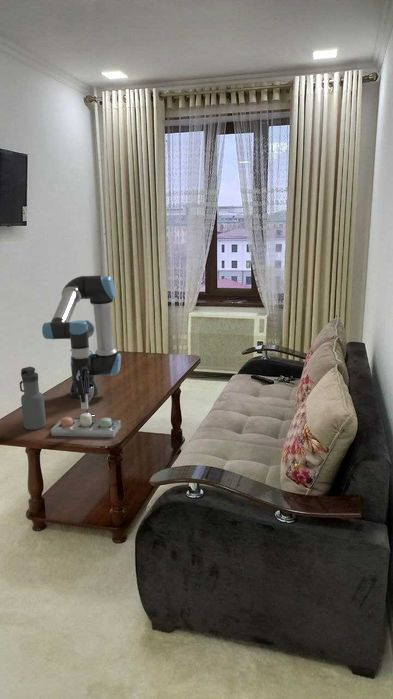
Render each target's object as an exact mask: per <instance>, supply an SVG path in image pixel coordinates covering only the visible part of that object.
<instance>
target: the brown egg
mask: <svg viewBox="0 0 393 699" xmlns="http://www.w3.org/2000/svg"><path fill="white" fill-rule="evenodd" d="M72 419H73V417H71V416H65V417H62V418H60V420H61V427H72V425H73V422H72Z"/></svg>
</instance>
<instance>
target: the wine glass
mask: <svg viewBox="0 0 393 699" xmlns="http://www.w3.org/2000/svg"><path fill="white" fill-rule="evenodd" d="M88 392H89V393H87V396H88V404H89V403H90V401H91V400H92V398H93V397H94V396H93V394H94V385H93V384H91V383H89V391H88ZM77 393H78V391H77ZM78 396H79V398H78V399H80V400H81V398H80V395H78ZM85 411H86V412H83V413H82V414H84V413H90V414H91V417H94V416H95V415H96V414H95V412H90V411H89V408H88V409H85Z"/></svg>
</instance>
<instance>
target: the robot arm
mask: <svg viewBox="0 0 393 699" xmlns="http://www.w3.org/2000/svg"><path fill="white" fill-rule="evenodd" d="M116 296H117V295H116V286H115V282H114V279H113V278H112V277H111V276H110V275H103V274H102V275H100V274H99V275H81V276H77V277H74V278H73V279H71V280H70V281H68V283H66V285H65V286H64V287H63V289H62V291H61V298H60V301H59V303H58V305H57V307H56V310H55V313H54V314H53V317H52V320H50V321H48V322H44V323H43V324H42V330H41V331H42V337H43V338H44V339H45V340H70V348H71V349H70V352H71V356H70V369H71V380H72V381H71V385H70V390H69V394H70V397H73V398H76V399H80V398H81V399H80V409H81V410H86V409H88V410H89V403H88V396H87V393H89V392H88V391H89V383H91V384H93V385H94V394H93V397H94V396H97V395H98V394H99V387H98V385H97V383H96V379H95V376H116V375H118V374H119V373H120V369H121V366H122V365H121V364H122V354H121V353H119V352H118V349H117V348H116V347H115V342H114V333H113V319H112V310H111V308H112V307H111V305H112V303H113V302H114V299H116ZM81 300H89V303H90V304H91V306H93V314H94V323H95V325H94V323H93V322H92V321H91V320H88V319H86V320H81V319H80V320H74V321H70V320H71V319H72V317H73V316H72V315H73V313H74V311H75V308H76V306H77V303H79V302H80V301H81ZM94 333H95V334H96V344H97V349H96V350H95V351H94V352H95V353H93V351H92V350H90V343H89V340H90V338H91V337H92V336H93V335H94ZM77 391H78V393H77ZM78 395H80V398H79V396H78Z"/></svg>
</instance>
